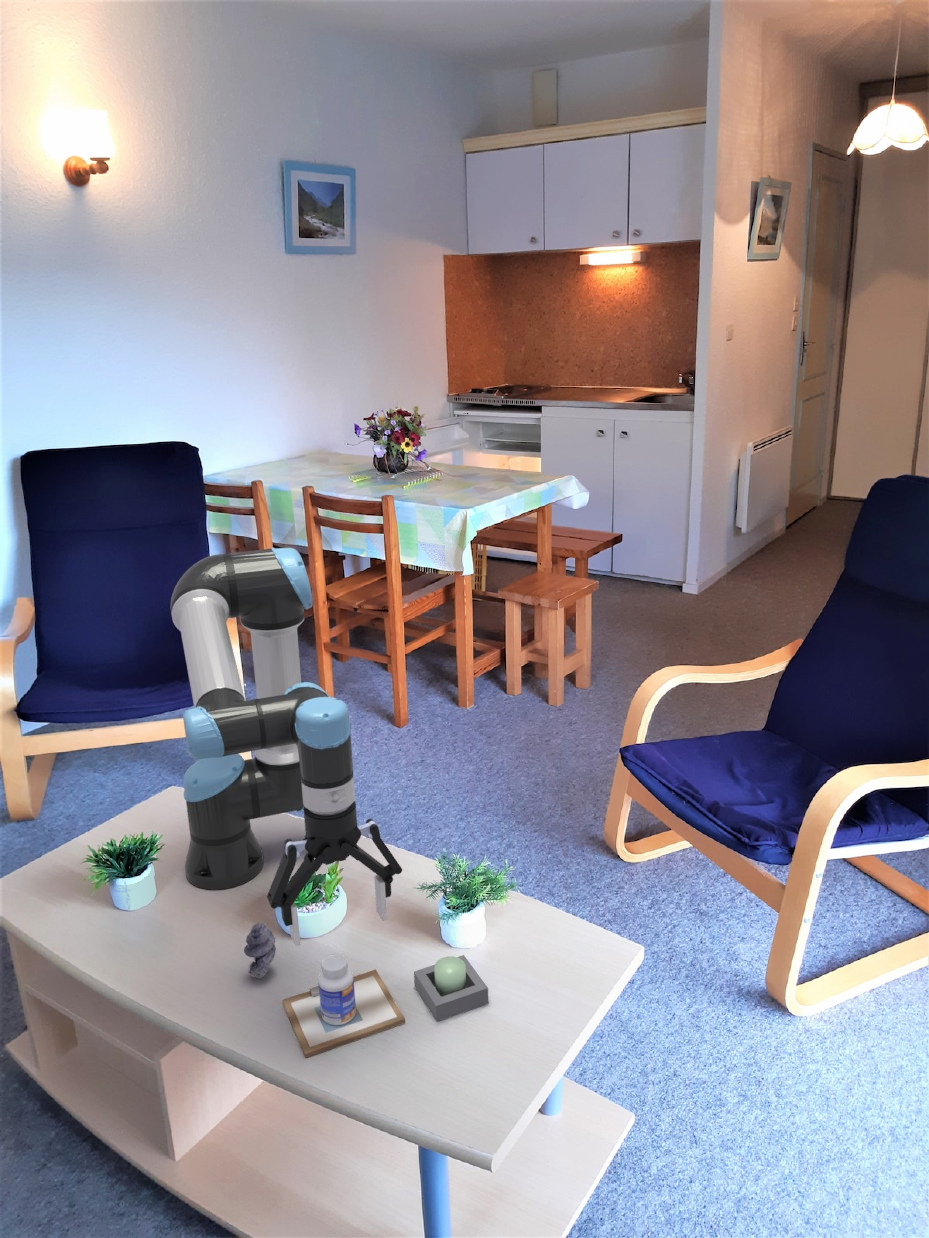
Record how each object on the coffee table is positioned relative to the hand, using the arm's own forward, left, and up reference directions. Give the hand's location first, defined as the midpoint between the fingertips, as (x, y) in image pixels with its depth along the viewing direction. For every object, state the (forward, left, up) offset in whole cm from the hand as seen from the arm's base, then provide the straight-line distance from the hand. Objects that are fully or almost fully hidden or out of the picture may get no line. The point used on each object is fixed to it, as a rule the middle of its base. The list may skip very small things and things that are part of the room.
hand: (339, 927), depth 144 cm
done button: (+3, +17, -15) cm, 23 cm away
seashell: (-16, -9, -17) cm, 25 cm away
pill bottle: (0, -1, -16) cm, 16 cm away
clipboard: (-1, 0, -17) cm, 17 cm away
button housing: (+3, +17, -17) cm, 24 cm away
